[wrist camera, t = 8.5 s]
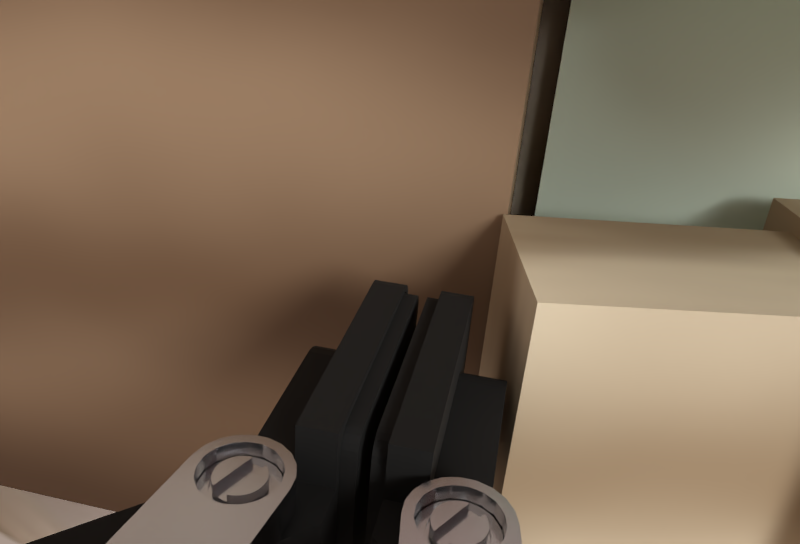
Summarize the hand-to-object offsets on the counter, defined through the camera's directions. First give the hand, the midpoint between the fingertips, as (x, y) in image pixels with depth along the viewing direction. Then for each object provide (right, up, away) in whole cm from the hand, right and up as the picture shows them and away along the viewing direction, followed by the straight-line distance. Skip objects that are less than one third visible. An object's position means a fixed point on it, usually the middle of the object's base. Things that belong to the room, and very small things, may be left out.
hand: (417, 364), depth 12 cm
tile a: (+4, 0, +1) cm, 4 cm away
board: (-4, +3, +5) cm, 7 cm away
